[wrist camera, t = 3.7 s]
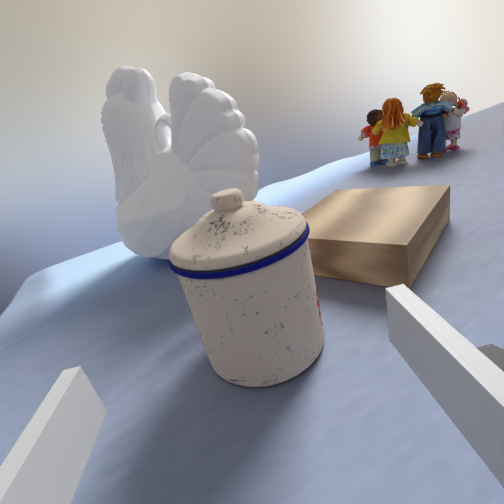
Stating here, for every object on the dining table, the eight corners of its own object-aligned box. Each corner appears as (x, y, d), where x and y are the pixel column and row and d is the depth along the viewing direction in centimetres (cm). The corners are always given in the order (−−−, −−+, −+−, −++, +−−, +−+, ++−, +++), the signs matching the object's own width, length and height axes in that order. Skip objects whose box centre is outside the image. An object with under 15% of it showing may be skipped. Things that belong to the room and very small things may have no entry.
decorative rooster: (120, 258, 50) (44, 88, 40) (202, 222, 58) (155, 73, 48) (194, 306, 31) (82, 3, 21) (302, 242, 39) (256, 1, 29)
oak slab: (449, 220, 35) (450, 184, 33) (409, 290, 25) (406, 245, 23) (340, 217, 43) (336, 189, 42) (278, 269, 33) (270, 235, 32)
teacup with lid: (356, 337, 22) (334, 169, 17) (251, 421, 18) (186, 231, 13) (257, 286, 31) (227, 171, 27) (175, 333, 27) (123, 206, 23)
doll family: (465, 144, 65) (467, 74, 60) (490, 150, 56) (495, 68, 51) (359, 166, 70) (353, 102, 65) (367, 174, 61) (361, 102, 56)
